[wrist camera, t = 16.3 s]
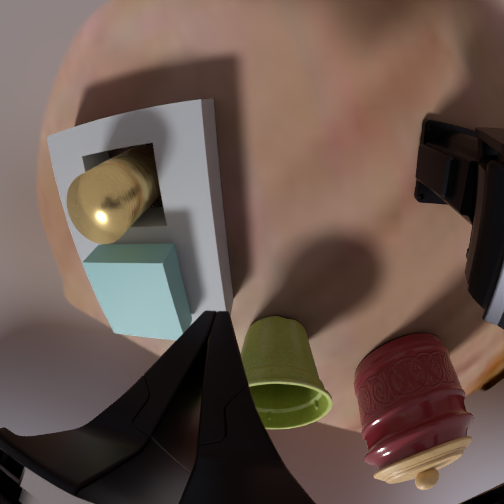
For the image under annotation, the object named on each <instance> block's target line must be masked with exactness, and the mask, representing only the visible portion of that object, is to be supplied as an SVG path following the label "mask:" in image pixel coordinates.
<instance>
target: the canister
mask: <svg viewBox="0 0 504 504" xmlns="http://www.w3.org/2000/svg"><path fill="white" fill-rule="evenodd" d="M354 389H355V395H356V397H357V399H358V405H359V411H360V418H361V425H362V432H361V435H362V437H363V439H364V440H366V442H367V446H368V453H367V454H366V455H365V458H364V461H365V462H366V463H367V464H369V465H373V466H375V467H376V469H377V470H378V471H377V472H376V473H375V474H374V478H375V479H379V480H383V481H386V482H387V483H390V484H392V483H399V482H403V481H407V480H411V479H414V478H416V479H415V484H416V486H417V488H419V489H421V490H426V489H429V488H431V487H433V486H434V485H435V484H436V483H437V481H438V479H439V473H438V471H437V470H438V469H440V468H442V467H444V466H446V465H448V464H450V463H452V462H453V461H455V460H457V459H458V458H459V457H460V456H462V454H463V451H464V450H465V449H466V447H467V446H468V445H469V444H470V442H471V441H472V437H470V436H467V430H468V428H469V427H470V425H471V423H472V422H473V419H474V417H473V415H472V414H471V413H468V412H467V411H466V408H465V404H464V400H465V392H464V390H463V389H462V387H461V385H460V382H459V380H458V377H457V375H456V372H455V370H454V367H453V365H452V362H451V360H450V355H449V352H448V350H447V348H446V346H445V345H444V344H443V343H442V341H441V340H440V339H439V338H438V337H437V336H435V335H433V334H428V333H418V334H411V335H407V336H404V337H400V338H398V339H395V340H393V341H390V342H388V343H386V344H384V345H383V346H381V347H379V348H378V349H376V350H375V351H373V352H372V353H371V354H369V355H368V356H367V357H366V358H365V359H364V360H363V361H362V362H361V363H360V365H359V366H358V368H357V370H356V372H355V381H354Z"/></svg>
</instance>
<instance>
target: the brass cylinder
mask: <svg viewBox="0 0 504 504" xmlns="http://www.w3.org/2000/svg"><path fill="white" fill-rule="evenodd" d="M160 195H161V192H160V186H159V180H158V174H157V168H156V161H155V155H154V148H153V147H151V146H147V145H139V146H135V147H133V148H131V149H129V150H127V151H125V152H123V153H120V154H118V155H116V156H114V157H113V158H111V159H109V160H107V161H105V162H103V163H101V164H99V165H97V166H95V167H94V168H92V169H90V170H88V171H86V172H85V173H83V174H81V175H79V176H78V177H76V178H75V179H74V180H73V181H72V183H71V184H70V186H69V189H68V192H67V199H66V201H67V210H68V214H69V216H70V219H71V221H72V223H73V224H74V226H75V227H76V229H77V230H78V231H79V232H80V233H81V234H82V235H83V236H84V237H86V238H87V239H89V240H90V241H93V242H95V243H99V244H110V243H113V242H115V241H117V240H118V239H120V238H121V237H122V235H123V234H124V233H125V232H126V231H127V230H128V229H129V228H130V227H131V226H132V224H133V223H134V222H135V221H136V220H137V219H138V218H139V217H140V216H141V215H142V214H143V213H144V212H145V211H146V209H147V208H148V207H149V206H150V205H151V204H152V203H153V202H154V201H155V200H156V199H157V198H158V197H159V196H160Z"/></svg>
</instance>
